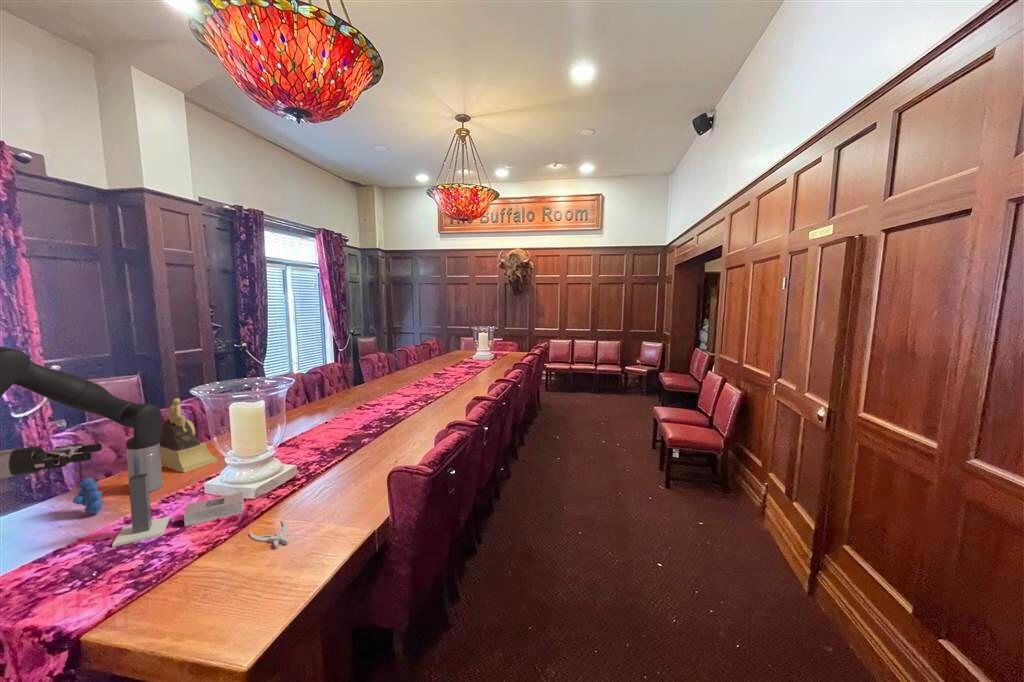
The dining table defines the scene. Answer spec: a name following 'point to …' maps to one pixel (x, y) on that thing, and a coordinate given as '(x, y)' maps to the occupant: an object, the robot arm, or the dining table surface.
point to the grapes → (89, 496)
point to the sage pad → (129, 537)
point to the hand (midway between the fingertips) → (96, 451)
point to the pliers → (275, 539)
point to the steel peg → (140, 503)
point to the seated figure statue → (182, 443)
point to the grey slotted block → (213, 509)
